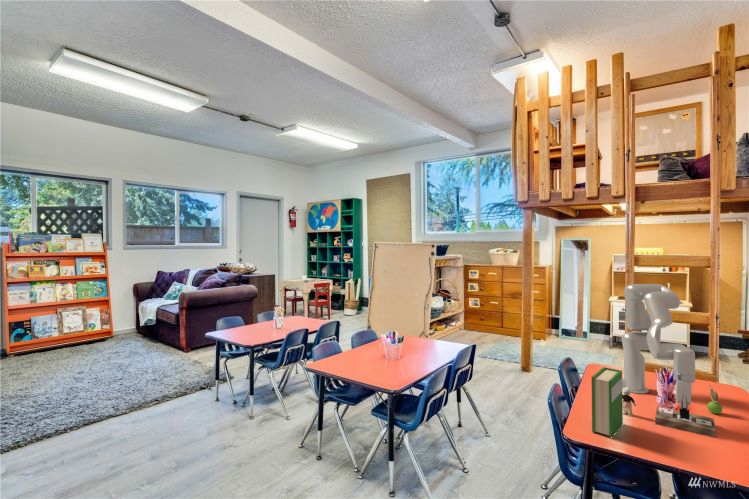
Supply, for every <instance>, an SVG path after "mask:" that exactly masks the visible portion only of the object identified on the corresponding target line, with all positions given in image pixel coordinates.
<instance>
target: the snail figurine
mask: <svg viewBox="0 0 749 499" xmlns="http://www.w3.org/2000/svg"><path fill="white" fill-rule="evenodd" d="M709 395H710V400H711V401H709V402H708V403H707V405H706V409H707V410H708V412H710V413H712V414H714V415H715V414H717V415H718V414H721V413H722V412H723V405H721V404H720V403H719V401H718V400H719V395H718V392H716V391H715V390H714V389H713V385H709Z"/></svg>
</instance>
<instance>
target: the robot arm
mask: <svg viewBox="0 0 749 499" xmlns="http://www.w3.org/2000/svg"><path fill="white" fill-rule="evenodd" d="M623 296H624V297H623V298H624V300H625V306H626V308H625V326H626V327H627V329H628V330H631V331H627V332H624V333H623V334H622V336H621V343H622V350H623V378H622V390H623V389H624V388H625V387H628V388H630V390H631V391H630V393H632V394H633V393H634V394H643V395H644V394H647V393H649V388H648V387H647V386H646V367H645V366H646V362H645V361H646V359H645V357H644V355H643V354H642V353H641V351H650V354H651V356H652V357H653V358H654V359H656V360H659V361H672V365H673V367H672V370H673V372H672V374H673V375H672V377H673V379H674V380H675V402H676V403H677V404H680V406H679V411H680V417H681V418H685V419H689V413H690V408H689V406H690V405H691V403H692V390H693V389H692V388H693V384H692V383H696V354H695V353H696V352H695V350H693V349H691V348H687V347H686V345H684V344H681V343H668V342H665V343H663V342H661V333H662V332H661V331H662V329H663V328H666V327H669V326H671V325H672V324H673V323H674V319H673V317H672V314H671V312H670V310H675V309H678V308H679V307H680V305H681V304H680V298H679V296H678V294H676V292H674V291H673V290H672V289H670V288H668V287H666V286H665V285H663V284H658V283H634V284H633V283H632V284H628V285H626V286H625V288H624V291H623ZM646 311H647V312H646Z"/></svg>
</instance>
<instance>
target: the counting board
mask: <svg viewBox="0 0 749 499" xmlns="http://www.w3.org/2000/svg"><path fill="white" fill-rule="evenodd" d="M659 407H660V408H662V407H661V406H657V407H656V410H655V415H654V416H655V418H654V419H655V423H654V424H655V425H659V426H662V427H666V428H667V427H668V428H670V429H675V430H680V431H684V432H688V433H693V434H696V435H701V436H706V437H709V438H716V437H717V431H716V430H717V429H716V424H715V418H713V417H709V416H705V415H700V414H696V413H690V412H689V417H692V422H691V421H686V420H681V419H677V415H680V410H675V409H671V408H669V409H670V410H673V418H672V417H667V416H663V415H659ZM664 408H665V409H667V408H666V407H664ZM696 419H701V420H706V421H711V424H712V426H709V425H704V424H700V423H696Z"/></svg>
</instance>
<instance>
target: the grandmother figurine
mask: <svg viewBox="0 0 749 499" xmlns="http://www.w3.org/2000/svg"><path fill="white" fill-rule="evenodd" d="M630 391H631V390H630V388H628V387H625V388H624V389H622V401H623V415H625V416H629V417H634V416H635V415H634V413H633V406H634V407H637V404H636V401H635V399H634V398H633V397H632V396H631V392H630ZM632 404H633V406H632Z"/></svg>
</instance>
